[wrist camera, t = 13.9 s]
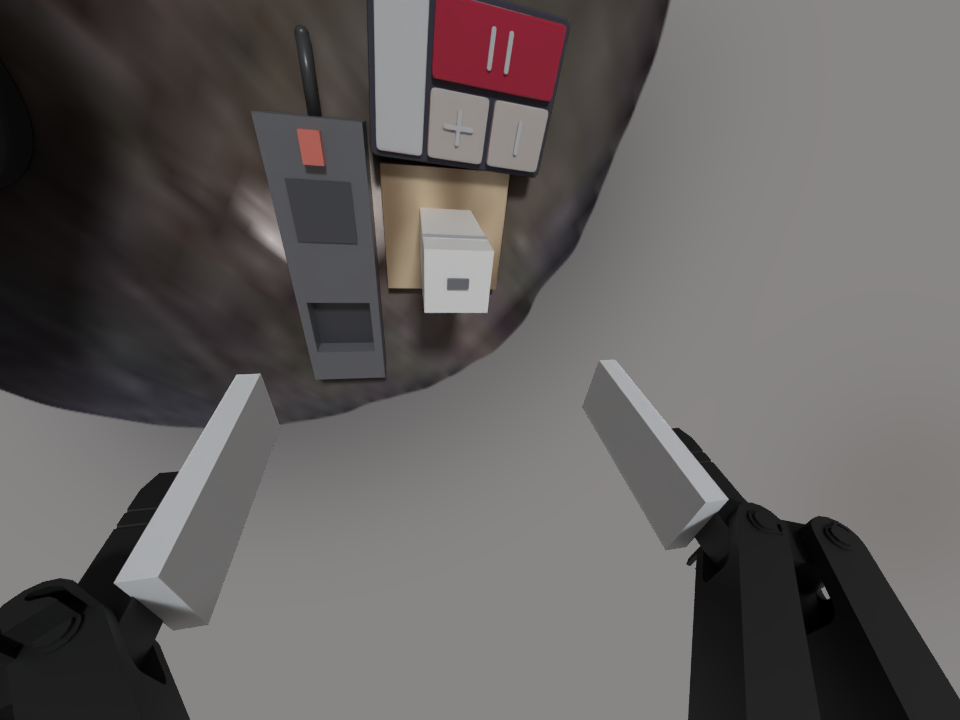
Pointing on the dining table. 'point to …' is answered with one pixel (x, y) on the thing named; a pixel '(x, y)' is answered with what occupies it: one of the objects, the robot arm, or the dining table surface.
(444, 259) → the block
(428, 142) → the calculator
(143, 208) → the dining table surface
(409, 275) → the wooden board
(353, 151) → the grey handheld radio
